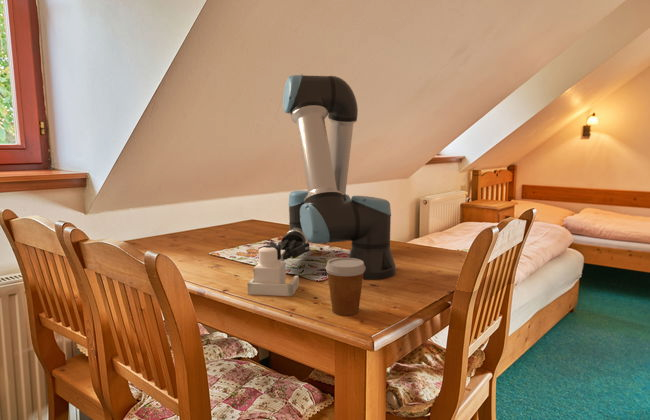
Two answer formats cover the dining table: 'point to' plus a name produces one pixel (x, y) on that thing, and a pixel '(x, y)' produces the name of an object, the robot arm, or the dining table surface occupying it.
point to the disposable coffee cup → (345, 284)
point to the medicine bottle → (270, 266)
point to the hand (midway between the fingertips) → (277, 259)
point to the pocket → (273, 288)
